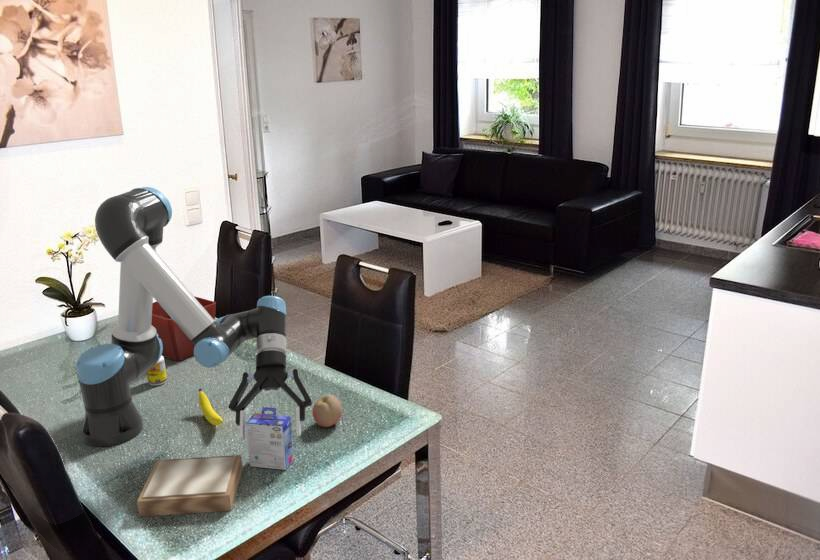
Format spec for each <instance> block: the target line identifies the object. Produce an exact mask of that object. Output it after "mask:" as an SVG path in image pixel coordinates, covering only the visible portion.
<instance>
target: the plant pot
mask: <svg viewBox="0 0 820 560" xmlns="http://www.w3.org/2000/svg"><path fill="white" fill-rule="evenodd" d="M193 296H194V295H193ZM194 297H195V298H196V299H197V301H198V302H199V303H200V304H201V305H202V306H203V307H204V309H205V310H206V311H207V312H208V313H209V314H210V316H211V317H212V318H213V319H214V320H215V319H216V310H217V309H216V304H217V303H216V301H212V300H211V299H206V298H203V297H199V296H194ZM215 321H216V320H215ZM151 325H152V326H153V327H155V329H156V332H157V334H158V335H159V336H158V338H159V339H161V341H162V345H163V351H162V356H163V357H164V358H167V359H170V360H173V361H176V362H180V361H183V360H185V359H188V358H190V357H192V356H194V347H195V345H194V343H193V342H192V341H191V340H190V339H189V338H188V336H187V335H186V334H185V333H184V332H183V331H182V330H181V328H180V327H179V326H178V325H177V324H176V323H175V322H174V320H173V319H172V318H171V317H170V316H169V315H168V314H167V312H166V311H165V310H164V309H163V308H162V307H161V306H160V304H159V303H158V302H157V301H156V300H155V301H154V302H153V304H152V321H151Z"/></svg>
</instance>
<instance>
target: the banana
mask: <svg viewBox="0 0 820 560" xmlns="http://www.w3.org/2000/svg"><path fill="white" fill-rule="evenodd" d="M198 391H199V394H198V404H199V407H200V410H201V412H202V414H203V415H204V417H205V420H207V422H208V423H210V425H212V426H219V427H220V426H221V425H223V422H224V419H222V417H221V416H220V415H219V414H218V412H216V411H215V410H214V409H213V407H212V404H211V402H210V400H209V398H208V396H207V394H205V392H204V391H202V388H199V389H198Z"/></svg>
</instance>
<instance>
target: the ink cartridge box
mask: <svg viewBox="0 0 820 560" xmlns="http://www.w3.org/2000/svg"><path fill="white" fill-rule="evenodd" d="M261 409H262V410H261V413H254V414H252V415H251V416H250V417H249V419H248V420H247V421H245V433H246V439H247V440H246V441H247V449H248V450H247V451H248V460H249V461H248V462H249V467H251V468H264V469H273V470H283V471H286V470H287V469H288V468H289V467H290V465H291V464H292V463H293V461H294V460H295V454H294V453H295V452H294V444H293V443H294V442H293V434H292V433H293V432H292V423H291V420H292V419H291V415H282V414H281V415H279V414H277V408H276V407H265V406H263V407H262V408H261ZM268 411H269V412H272V413H265V412H268Z"/></svg>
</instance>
